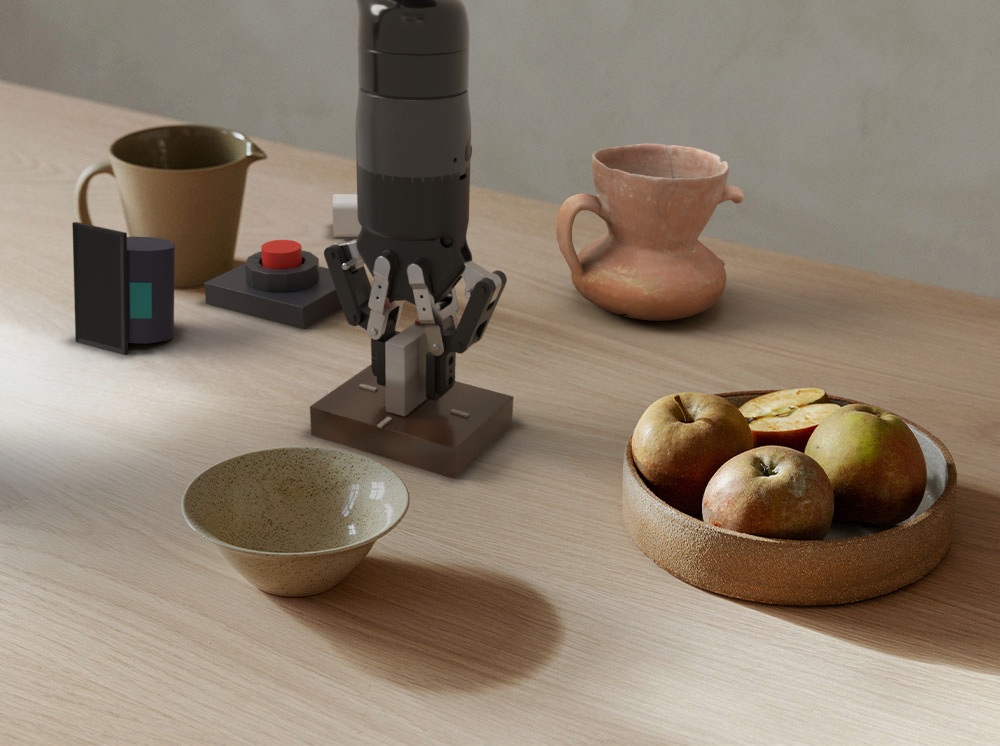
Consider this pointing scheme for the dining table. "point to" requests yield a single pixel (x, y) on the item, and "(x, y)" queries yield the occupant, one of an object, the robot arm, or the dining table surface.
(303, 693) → the dining table surface
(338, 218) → the usb wall charger
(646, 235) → the ceramic jug
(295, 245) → the power button
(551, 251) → the dining table surface
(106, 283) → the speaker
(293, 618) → the dining table surface
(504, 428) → the brown base plate
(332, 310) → the switch block
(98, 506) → the dining table surface
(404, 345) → the block
